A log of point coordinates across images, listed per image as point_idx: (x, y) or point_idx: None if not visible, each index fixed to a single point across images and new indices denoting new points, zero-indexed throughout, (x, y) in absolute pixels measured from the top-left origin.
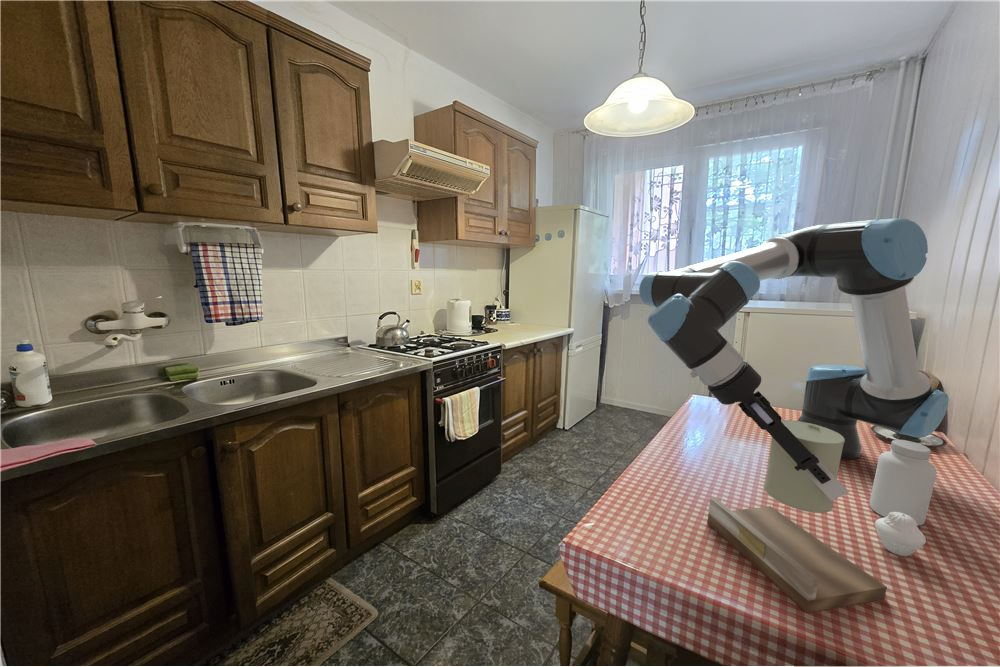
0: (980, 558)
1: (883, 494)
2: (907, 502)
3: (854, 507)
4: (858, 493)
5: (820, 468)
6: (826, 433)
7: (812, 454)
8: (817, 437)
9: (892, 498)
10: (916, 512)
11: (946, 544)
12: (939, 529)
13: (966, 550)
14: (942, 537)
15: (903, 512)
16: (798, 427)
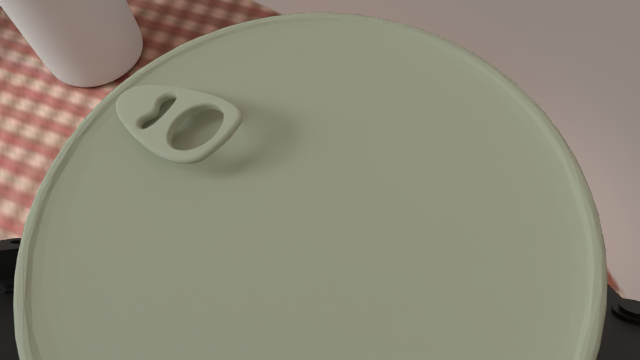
0: (232, 2)
1: (79, 43)
2: (116, 16)
3: (75, 119)
4: (10, 82)
5: (619, 297)
6: (302, 85)
7: (634, 321)
8: (442, 186)
9: (98, 35)
10: (131, 19)
11: (198, 26)
12: (147, 12)
13: (211, 8)
14: (175, 21)
15: (126, 40)
16: (207, 253)
